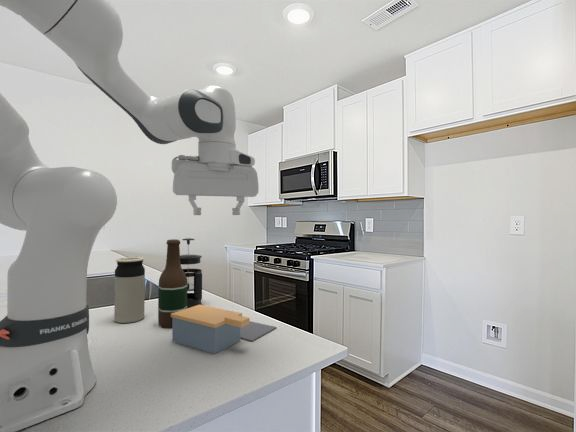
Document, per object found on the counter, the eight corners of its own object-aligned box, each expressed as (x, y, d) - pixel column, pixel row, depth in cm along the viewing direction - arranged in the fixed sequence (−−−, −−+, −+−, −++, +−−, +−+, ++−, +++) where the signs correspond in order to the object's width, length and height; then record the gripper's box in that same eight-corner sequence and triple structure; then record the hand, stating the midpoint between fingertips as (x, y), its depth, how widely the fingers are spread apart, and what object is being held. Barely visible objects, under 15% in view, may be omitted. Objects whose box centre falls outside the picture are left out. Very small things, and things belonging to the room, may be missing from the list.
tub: (214, 354, 72) (215, 327, 72) (172, 341, 79) (172, 316, 79) (240, 340, 80) (240, 316, 80) (199, 330, 87) (199, 307, 87)
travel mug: (144, 321, 93) (145, 259, 93) (113, 325, 90) (114, 261, 90) (144, 313, 100) (144, 256, 100) (115, 317, 97) (115, 257, 97)
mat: (252, 341, 79) (252, 340, 79) (210, 331, 86) (210, 329, 86) (276, 328, 88) (276, 327, 88) (236, 319, 95) (236, 318, 95)
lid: (231, 334, 69) (231, 325, 69) (170, 318, 79) (170, 311, 79) (257, 321, 77) (257, 314, 77) (199, 308, 87) (199, 302, 87)
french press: (166, 306, 109) (166, 238, 109) (189, 300, 117) (190, 237, 116) (187, 312, 102) (188, 240, 102) (211, 305, 110) (211, 238, 110)
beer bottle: (152, 325, 90) (152, 240, 90) (173, 317, 97) (174, 238, 96) (171, 330, 86) (172, 241, 86) (192, 322, 93) (193, 239, 93)
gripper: (173, 151, 70) (173, 215, 70) (260, 159, 79) (260, 215, 79) (170, 156, 75) (170, 215, 76) (252, 162, 85) (252, 215, 85)
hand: (217, 215), depth 77 cm, fingers open, 8 cm apart
